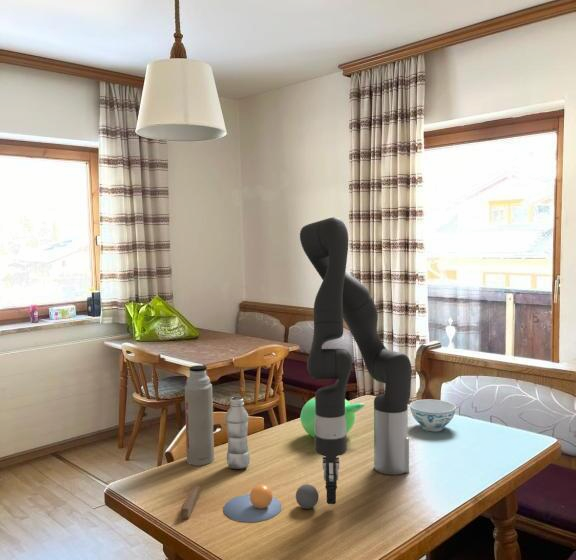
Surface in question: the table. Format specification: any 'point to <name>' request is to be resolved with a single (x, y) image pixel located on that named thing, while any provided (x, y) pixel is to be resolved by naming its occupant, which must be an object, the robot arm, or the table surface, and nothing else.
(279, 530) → the table surface
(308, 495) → the charcoal ball
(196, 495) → the walnut rail
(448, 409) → the chinaware
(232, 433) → the plastic bottle
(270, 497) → the orange ball
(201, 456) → the thermos bottle
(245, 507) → the blue mark
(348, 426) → the green bird toy
